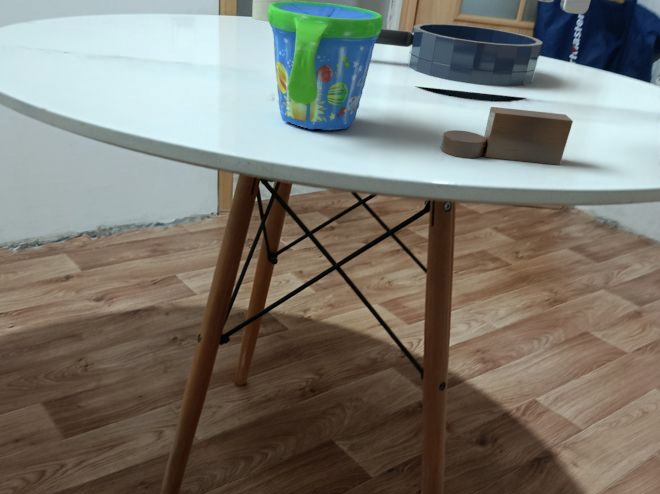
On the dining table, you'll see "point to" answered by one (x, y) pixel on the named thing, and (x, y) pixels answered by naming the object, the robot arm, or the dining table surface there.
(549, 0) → the robot arm
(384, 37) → the pan handle
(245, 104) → the dining table surface
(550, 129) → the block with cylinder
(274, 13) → the snack cup
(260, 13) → the travel mug
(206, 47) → the dining table surface
